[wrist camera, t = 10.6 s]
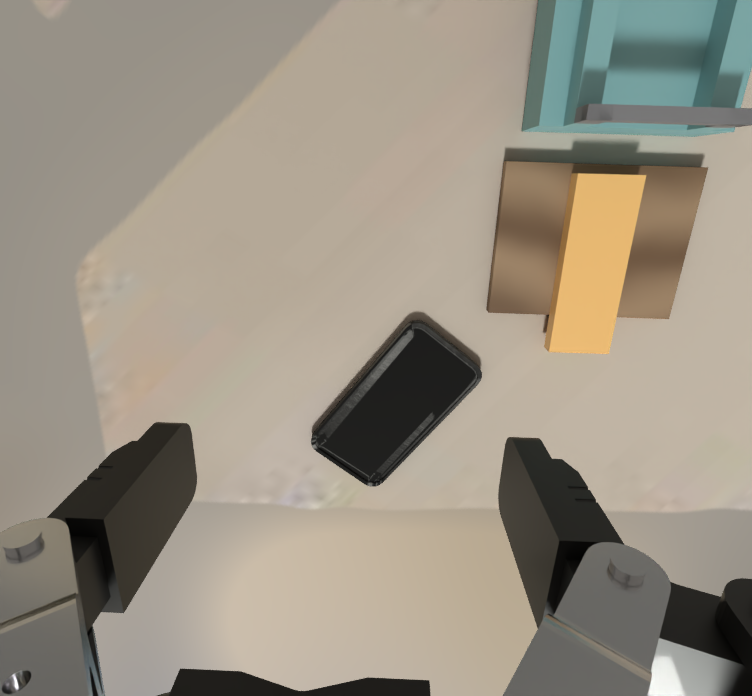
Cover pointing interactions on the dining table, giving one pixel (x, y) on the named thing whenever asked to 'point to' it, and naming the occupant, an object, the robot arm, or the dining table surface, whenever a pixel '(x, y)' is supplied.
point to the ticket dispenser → (639, 67)
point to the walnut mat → (545, 225)
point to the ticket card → (592, 261)
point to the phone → (396, 404)
